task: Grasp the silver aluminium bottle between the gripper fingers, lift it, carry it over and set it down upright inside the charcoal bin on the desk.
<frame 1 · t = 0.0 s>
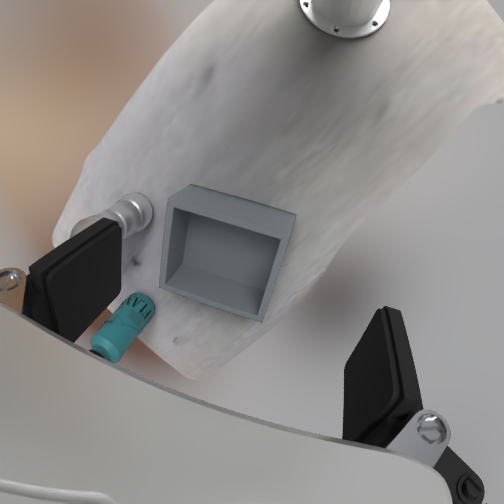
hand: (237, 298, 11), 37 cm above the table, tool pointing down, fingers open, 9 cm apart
bin: (232, 241, 52), on the table
beverage bottle: (145, 300, 62), on the table
silver aluminium bottle: (141, 207, 53), on the table
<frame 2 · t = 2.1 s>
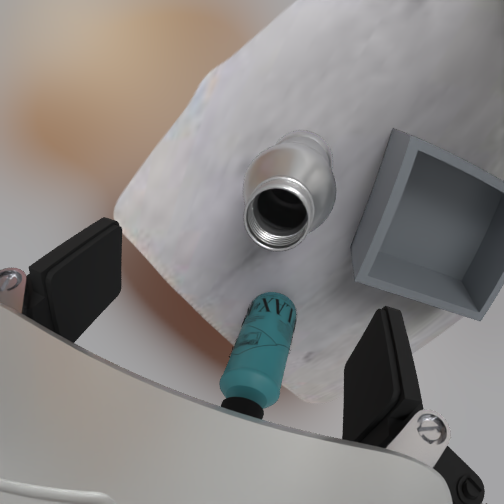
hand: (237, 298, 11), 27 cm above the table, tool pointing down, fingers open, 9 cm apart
bin: (435, 214, 33), on the table
beverage bottle: (275, 303, 44), on the table
silver aluminium bottle: (303, 157, 34), on the table
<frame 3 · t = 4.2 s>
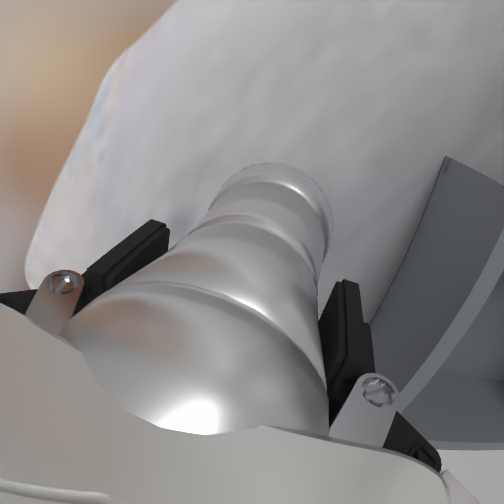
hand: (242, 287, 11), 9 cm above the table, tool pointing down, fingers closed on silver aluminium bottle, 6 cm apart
bin: (492, 299, 18), on the table
silver aluminium bottle: (277, 209, 19), on the table, touching gripper
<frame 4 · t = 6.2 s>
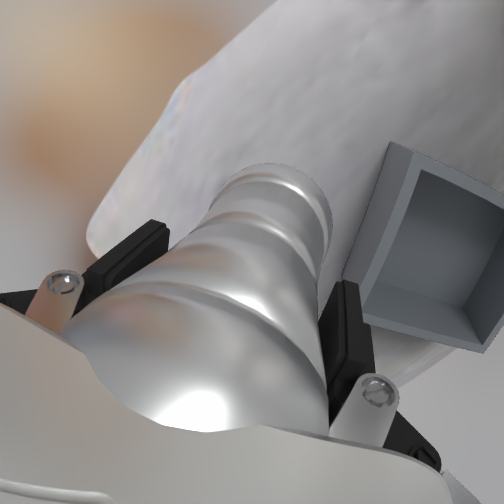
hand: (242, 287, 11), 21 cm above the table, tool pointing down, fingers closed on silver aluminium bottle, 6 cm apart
bin: (436, 237, 30), on the table
silver aluminium bottle: (277, 209, 19), point 13 cm above the table, touching gripper
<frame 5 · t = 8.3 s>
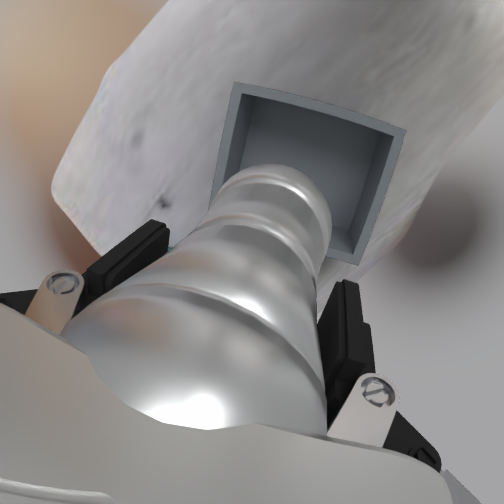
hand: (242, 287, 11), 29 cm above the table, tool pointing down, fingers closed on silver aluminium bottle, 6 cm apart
bin: (305, 162, 37), on the table
silver aluminium bottle: (277, 210, 19), point 20 cm above the table, touching gripper
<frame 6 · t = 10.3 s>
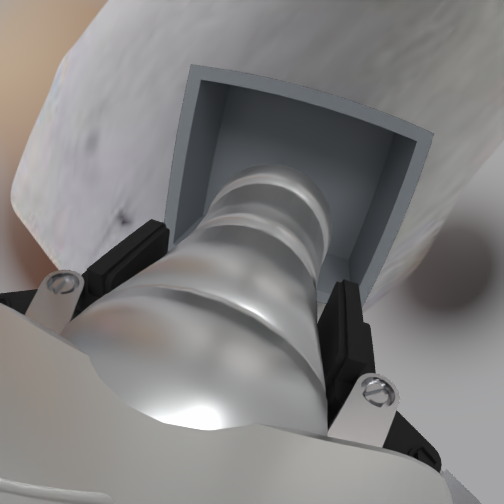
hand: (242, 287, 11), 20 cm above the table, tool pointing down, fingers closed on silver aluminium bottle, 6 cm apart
bin: (294, 171, 29), on the table
silver aluminium bottle: (277, 210, 19), point 11 cm above the table, touching gripper
when the fingers open (11 cm above the table, at t = 12.4 s): silver aluminium bottle drops 2 cm, resting on bin.
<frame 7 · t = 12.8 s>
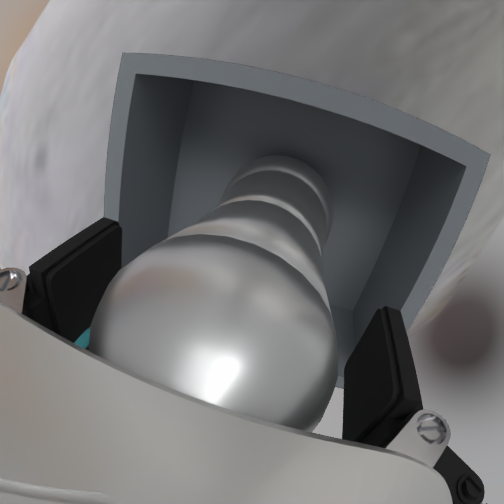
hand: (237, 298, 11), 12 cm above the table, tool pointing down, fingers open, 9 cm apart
bin: (283, 197, 21), on the table
silver aluminium bottle: (283, 198, 21), point 1 cm above the table, touching bin
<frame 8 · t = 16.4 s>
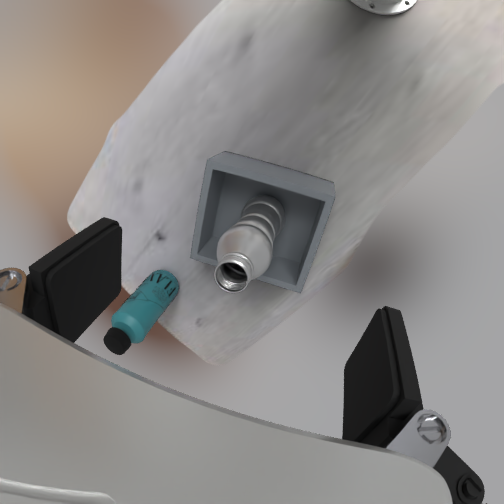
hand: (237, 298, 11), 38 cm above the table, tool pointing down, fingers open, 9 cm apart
bin: (266, 210, 50), on the table
beverage bottle: (167, 279, 60), on the table
silver aluminium bottle: (266, 211, 49), point 1 cm above the table, touching bin
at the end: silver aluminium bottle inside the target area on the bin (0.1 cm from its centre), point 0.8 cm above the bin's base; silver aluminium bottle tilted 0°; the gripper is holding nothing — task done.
